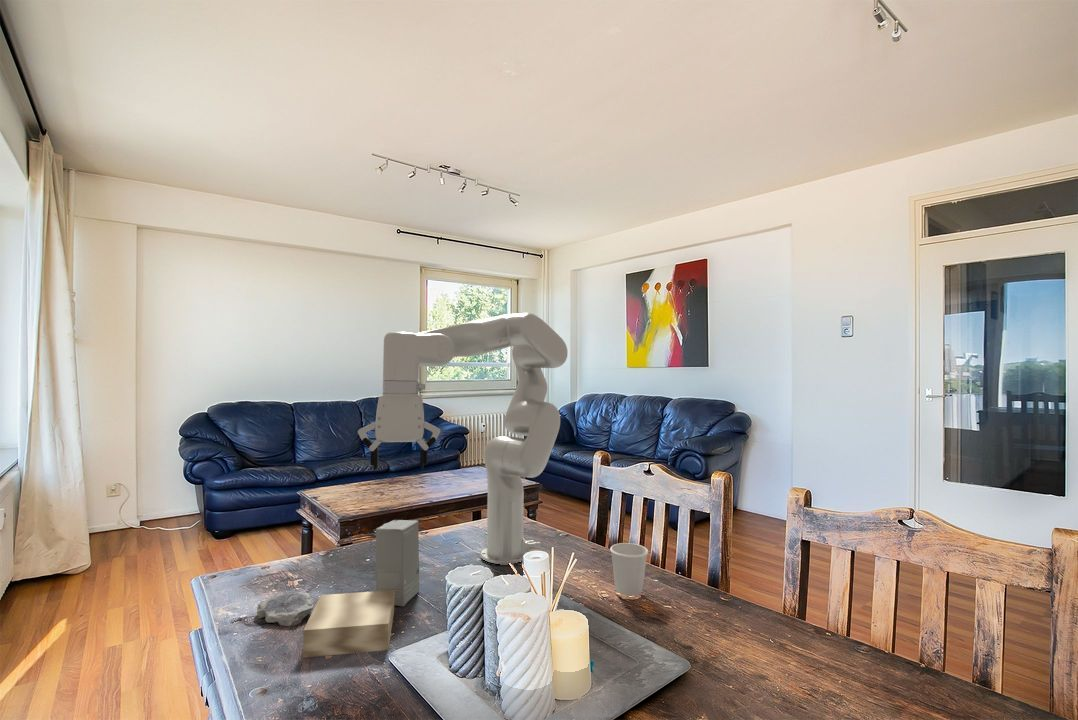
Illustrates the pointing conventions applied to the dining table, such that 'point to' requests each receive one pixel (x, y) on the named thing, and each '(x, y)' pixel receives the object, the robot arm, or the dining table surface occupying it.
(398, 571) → the skincare box
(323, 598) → the maple block
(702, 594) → the dining table surface
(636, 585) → the dixie cup
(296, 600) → the grey rock
